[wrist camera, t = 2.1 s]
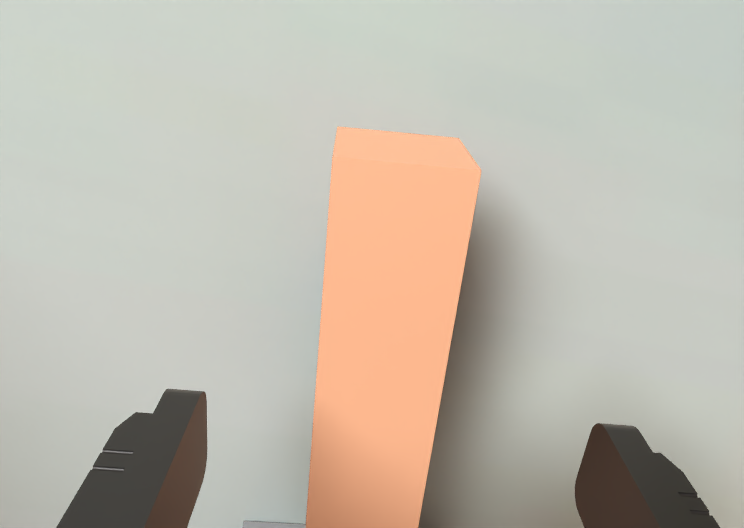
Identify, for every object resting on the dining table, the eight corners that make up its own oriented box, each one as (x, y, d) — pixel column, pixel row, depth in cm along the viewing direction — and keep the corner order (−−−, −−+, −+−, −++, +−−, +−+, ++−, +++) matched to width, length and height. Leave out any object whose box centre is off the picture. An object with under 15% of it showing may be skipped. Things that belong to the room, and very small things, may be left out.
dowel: (337, 126, 16) (332, 156, 13) (458, 138, 16) (481, 170, 13) (305, 560, 22) (296, 646, 19) (391, 565, 22) (396, 651, 19)
